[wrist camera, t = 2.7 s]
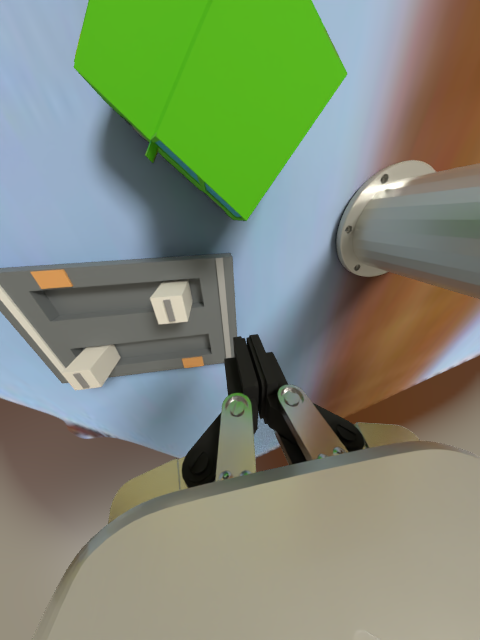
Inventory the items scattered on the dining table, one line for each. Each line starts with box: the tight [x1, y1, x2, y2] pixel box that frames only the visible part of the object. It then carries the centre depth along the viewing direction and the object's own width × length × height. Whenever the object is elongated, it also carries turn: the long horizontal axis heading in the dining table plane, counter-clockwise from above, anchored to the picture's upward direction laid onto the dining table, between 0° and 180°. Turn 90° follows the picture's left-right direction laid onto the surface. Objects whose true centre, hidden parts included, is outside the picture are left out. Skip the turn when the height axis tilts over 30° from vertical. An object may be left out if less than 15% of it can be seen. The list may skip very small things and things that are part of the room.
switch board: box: [0, 253, 237, 383], centre depth 23 cm, size 26×16×3 cm, turn 92°
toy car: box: [74, 0, 347, 221], centre depth 12 cm, size 10×13×10 cm
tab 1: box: [61, 344, 121, 390], centre depth 22 cm, size 3×3×5 cm
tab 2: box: [150, 279, 193, 324], centre depth 19 cm, size 3×3×5 cm
